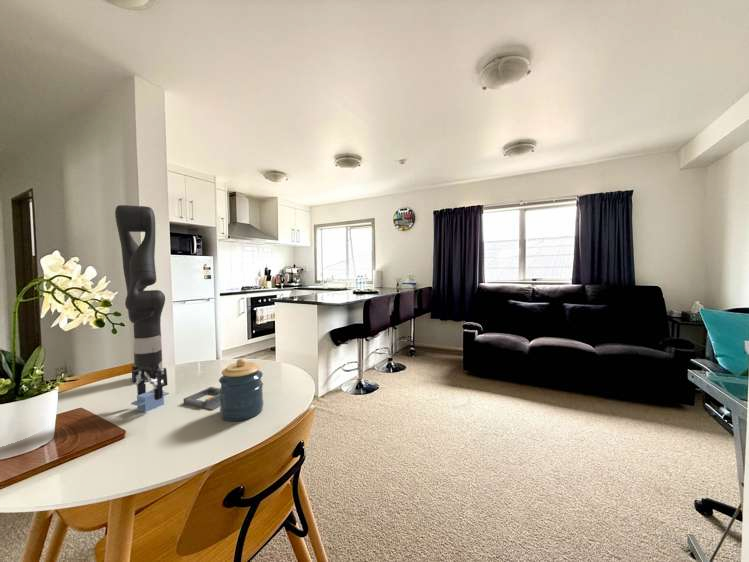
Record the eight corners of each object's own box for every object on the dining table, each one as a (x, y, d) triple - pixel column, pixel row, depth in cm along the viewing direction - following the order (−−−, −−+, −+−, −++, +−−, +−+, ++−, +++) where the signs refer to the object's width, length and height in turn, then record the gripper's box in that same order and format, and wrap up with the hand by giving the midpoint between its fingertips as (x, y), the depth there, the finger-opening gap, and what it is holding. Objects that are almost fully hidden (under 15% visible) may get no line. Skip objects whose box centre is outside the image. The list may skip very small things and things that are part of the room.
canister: (215, 425, 90) (213, 367, 89) (224, 405, 103) (223, 354, 102) (261, 418, 94) (260, 363, 93) (265, 400, 106) (263, 351, 105)
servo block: (131, 412, 98) (130, 395, 98) (161, 400, 107) (160, 384, 107) (139, 415, 97) (138, 397, 97) (169, 402, 106) (168, 386, 106)
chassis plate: (183, 403, 104) (183, 397, 104) (211, 391, 115) (210, 385, 114) (212, 410, 100) (212, 403, 99) (238, 396, 110) (238, 390, 110)
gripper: (121, 350, 100) (124, 398, 101) (150, 354, 95) (152, 405, 95) (145, 345, 107) (147, 390, 108) (173, 348, 102) (175, 395, 102)
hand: (150, 397), depth 101 cm, fingers open, 8 cm apart
